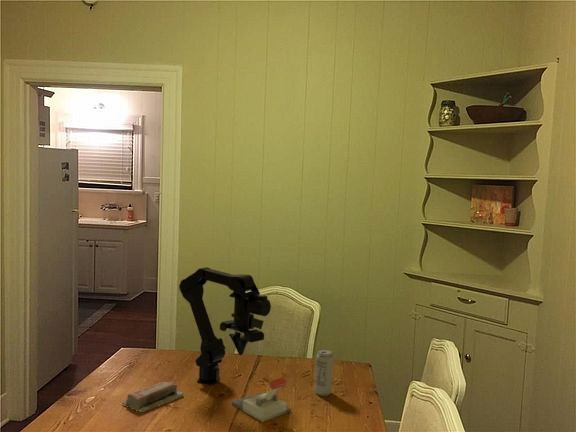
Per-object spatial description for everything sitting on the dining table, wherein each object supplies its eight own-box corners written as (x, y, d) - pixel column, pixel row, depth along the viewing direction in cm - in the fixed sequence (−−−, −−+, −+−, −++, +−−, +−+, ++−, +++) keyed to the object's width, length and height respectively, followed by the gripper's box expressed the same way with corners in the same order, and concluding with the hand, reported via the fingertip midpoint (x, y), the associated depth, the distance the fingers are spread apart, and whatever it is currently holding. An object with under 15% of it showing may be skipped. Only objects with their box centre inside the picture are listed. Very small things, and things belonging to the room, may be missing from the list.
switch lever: (258, 399, 169) (271, 380, 164) (270, 396, 173) (283, 377, 168) (261, 405, 168) (274, 385, 163) (273, 401, 171) (286, 382, 167)
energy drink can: (334, 394, 187) (337, 353, 186) (321, 397, 184) (323, 355, 183) (324, 388, 192) (326, 348, 191) (311, 391, 189) (313, 350, 188)
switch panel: (231, 404, 176) (232, 389, 175) (259, 395, 184) (260, 380, 184) (262, 422, 164) (262, 405, 164) (290, 411, 172) (291, 396, 172)
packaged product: (142, 400, 166) (121, 392, 171) (141, 415, 166) (121, 406, 172) (184, 383, 180) (164, 376, 186) (184, 397, 181) (164, 389, 186)
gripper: (277, 313, 184) (275, 357, 185) (244, 302, 198) (242, 343, 199) (251, 318, 176) (250, 364, 177) (219, 306, 190) (218, 349, 191)
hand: (240, 354), depth 186 cm, fingers closed
